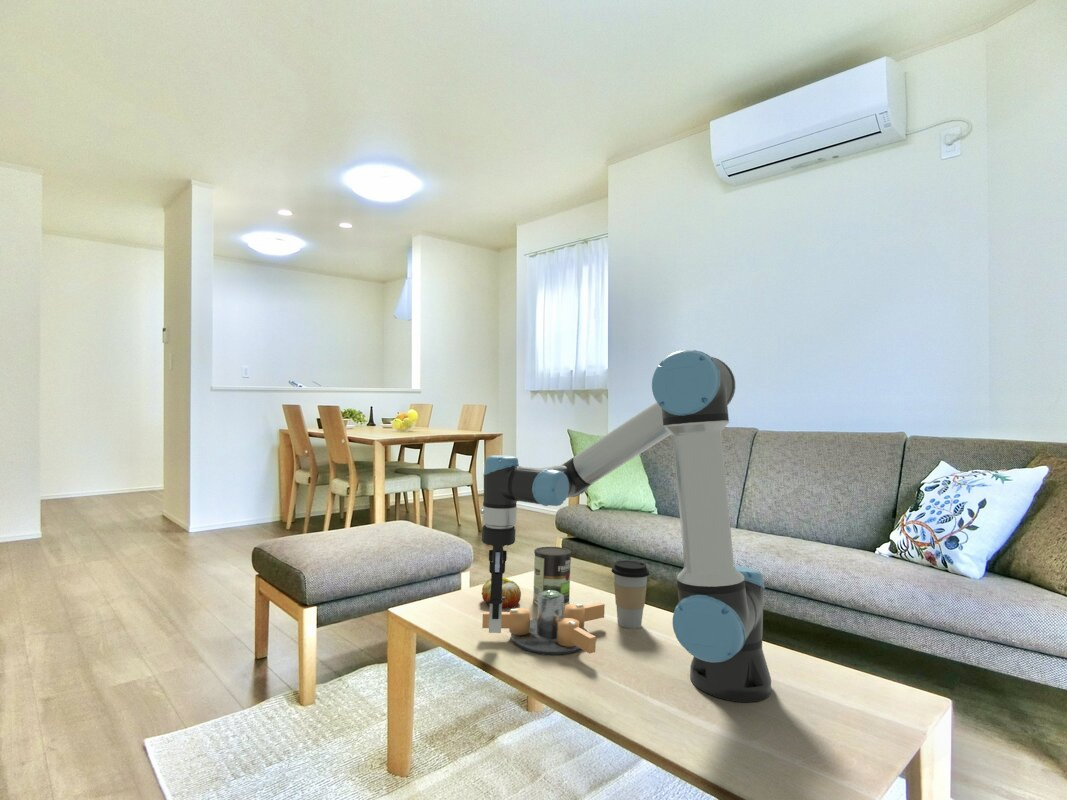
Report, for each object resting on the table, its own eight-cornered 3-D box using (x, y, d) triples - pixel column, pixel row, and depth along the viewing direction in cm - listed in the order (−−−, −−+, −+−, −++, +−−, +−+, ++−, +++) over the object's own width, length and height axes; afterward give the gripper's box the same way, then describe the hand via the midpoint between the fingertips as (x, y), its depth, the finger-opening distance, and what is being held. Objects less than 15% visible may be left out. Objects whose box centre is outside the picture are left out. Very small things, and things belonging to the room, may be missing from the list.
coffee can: (576, 600, 159) (577, 550, 159) (557, 610, 150) (559, 557, 150) (545, 593, 164) (546, 544, 165) (525, 602, 156) (527, 551, 156)
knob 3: (552, 640, 126) (553, 618, 126) (570, 636, 128) (570, 614, 128) (583, 659, 116) (583, 635, 117) (601, 654, 119) (601, 631, 119)
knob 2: (572, 631, 131) (572, 610, 131) (560, 624, 135) (560, 604, 136) (608, 622, 137) (608, 602, 137) (595, 616, 141) (596, 597, 141)
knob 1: (529, 626, 133) (530, 606, 133) (530, 634, 128) (531, 613, 128) (482, 626, 133) (483, 605, 133) (481, 634, 128) (482, 613, 128)
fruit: (471, 603, 152) (477, 573, 155) (494, 605, 161) (499, 576, 163) (504, 611, 146) (510, 579, 148) (526, 613, 154) (531, 582, 157)
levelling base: (599, 634, 135) (601, 587, 135) (569, 662, 119) (571, 609, 119) (532, 619, 143) (534, 575, 143) (496, 644, 127) (497, 594, 127)
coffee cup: (656, 626, 140) (657, 566, 141) (628, 634, 135) (630, 571, 136) (629, 615, 148) (630, 557, 149) (602, 621, 143) (603, 562, 143)
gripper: (483, 519, 132) (479, 620, 132) (480, 530, 119) (476, 643, 119) (515, 519, 133) (511, 620, 132) (516, 531, 120) (511, 643, 119)
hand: (494, 631), depth 125 cm, fingers closed
